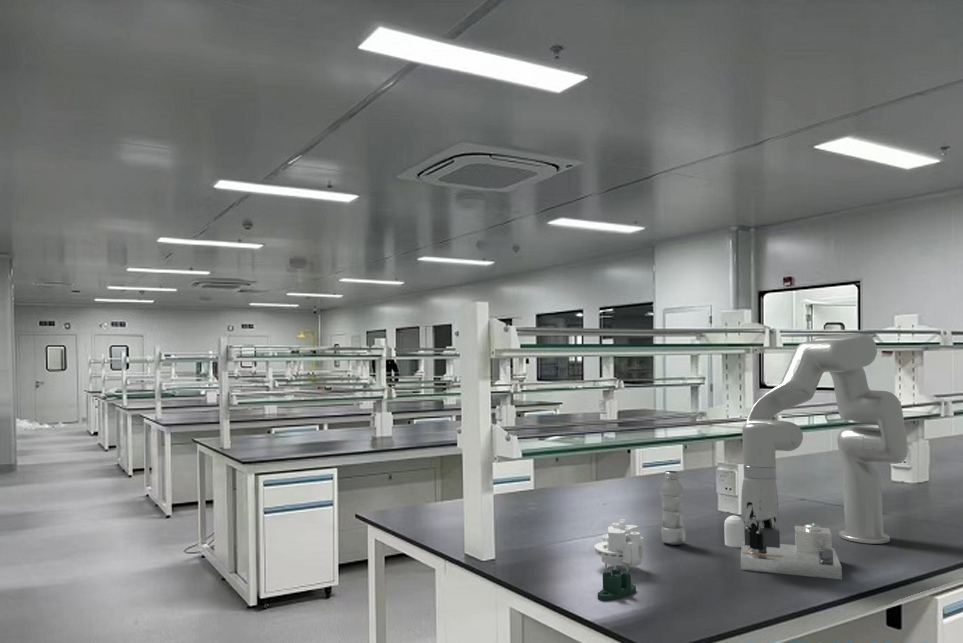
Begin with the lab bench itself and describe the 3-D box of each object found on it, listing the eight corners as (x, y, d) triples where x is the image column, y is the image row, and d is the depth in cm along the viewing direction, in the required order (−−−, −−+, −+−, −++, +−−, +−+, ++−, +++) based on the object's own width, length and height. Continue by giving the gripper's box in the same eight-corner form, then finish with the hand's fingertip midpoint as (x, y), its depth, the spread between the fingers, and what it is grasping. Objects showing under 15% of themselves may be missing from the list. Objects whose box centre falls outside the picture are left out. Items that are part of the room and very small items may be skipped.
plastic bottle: (666, 539, 194) (665, 469, 195) (689, 543, 189) (687, 471, 190) (657, 544, 189) (655, 472, 190) (680, 548, 184) (678, 474, 185)
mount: (607, 603, 144) (606, 579, 144) (592, 598, 148) (591, 574, 148) (641, 593, 150) (641, 570, 151) (626, 587, 154) (625, 565, 154)
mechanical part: (608, 559, 175) (607, 513, 176) (651, 568, 167) (650, 520, 168) (585, 570, 166) (585, 521, 167) (630, 580, 159) (629, 529, 159)
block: (779, 552, 167) (778, 528, 168) (780, 555, 165) (779, 530, 165) (745, 549, 170) (744, 525, 171) (745, 552, 168) (744, 528, 168)
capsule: (735, 541, 191) (734, 512, 191) (749, 546, 186) (748, 516, 187) (720, 543, 189) (719, 514, 190) (734, 548, 184) (733, 518, 185)
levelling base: (742, 552, 180) (740, 515, 181) (834, 560, 172) (833, 521, 173) (740, 569, 166) (739, 529, 166) (841, 579, 157) (840, 537, 158)
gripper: (763, 467, 177) (766, 538, 176) (727, 474, 166) (729, 550, 165) (791, 470, 171) (794, 544, 170) (755, 478, 160) (758, 556, 159)
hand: (762, 546), depth 168 cm, fingers closed on block, 4 cm apart
